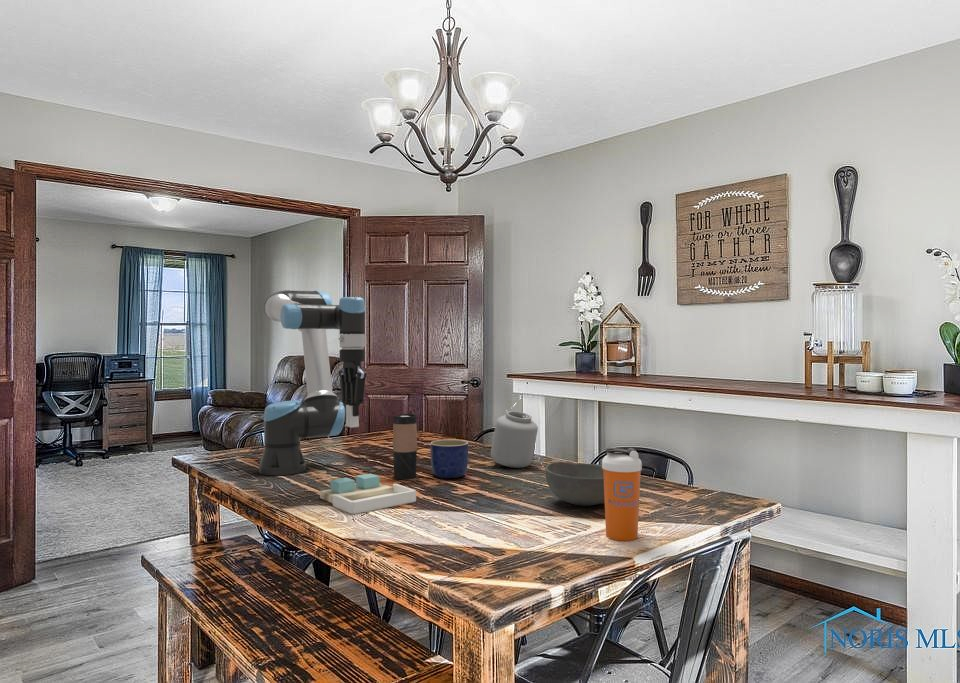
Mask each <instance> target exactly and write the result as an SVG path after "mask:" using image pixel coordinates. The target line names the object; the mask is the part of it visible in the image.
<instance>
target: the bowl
mask: <svg viewBox="0 0 960 683" xmlns="http://www.w3.org/2000/svg"><path fill="white" fill-rule="evenodd" d="M544 474H545V479H546V484H547V485H548V487H549V489H550V491H551V492H552V494H553V495H555V497H556V498H559V500H562V501H563V502H565V503H567V504H571V505H575V506H583V507H590V506H595V505H599V504H603V503H605V500H604V478H603V469H602V464H597V463H584V462H583V463H582V462H579V463H578V462H576V463H575V462H574V463H573V462H563V461H555V462H551V463H548V464H547V465H546V466H545V473H544Z"/></svg>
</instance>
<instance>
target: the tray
mask: <svg viewBox="0 0 960 683" xmlns="http://www.w3.org/2000/svg"><path fill="white" fill-rule="evenodd" d="M392 487H393V493H389V494H384V495H378V496H373V497H368V498H362V499H357V500H349V499H347V498H344V497H342V496H340V495H337V494H334V495H333V503H332V506H333V507H335V508H336V509H340V510H341V511H344V512H346V513H348V514H350V515H356V514H362V513H366V512H371V511H376V510H380V509H386V508H391V507H396V506H401V505H406V504H411V503H412V504H413V503H416V501H417V490H416V489H414V488H410V487H408V486H404V485H401V484H400V483H399V484H398V483H393V484H392Z"/></svg>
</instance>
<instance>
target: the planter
mask: <svg viewBox="0 0 960 683" xmlns="http://www.w3.org/2000/svg"><path fill="white" fill-rule="evenodd" d="M429 444H430V445H429V446H430V463H431V471H432V473H433V475H434V476H436V477H437V478H442V479H456V478H461V477H464V475H465V474H466V473H467V470H468V461H469V442H468V441H467V440H463V439H451V438H449V439H438V440H433V441H431V442H430V443H429Z"/></svg>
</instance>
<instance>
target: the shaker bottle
mask: <svg viewBox="0 0 960 683" xmlns="http://www.w3.org/2000/svg"><path fill="white" fill-rule="evenodd" d="M604 450H605V451H606V455H605V456H604V457H603V458H602V461H601V465H602V469H603V478H604V500H605V502H604V516H605V517H604V519H605V535H606V537H607V538H609V539H611V540H614V541H618V542H619V541H623V542H628V541H634V540H636V539H638V535H639V534H638V533H639V516H640V515H639V512H640V510H639V508H640V495H641V491H640V490H641V472H642V470H643V463H642V460H641V458H639V453H638V452H637V450H636V449H635V448H633V447H630V448H627V449H626V448H625V449H624V448H618V447H617V448H616V447H608V448H605V449H604Z"/></svg>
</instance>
